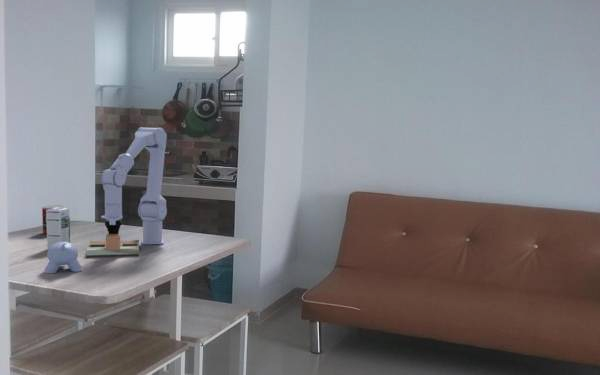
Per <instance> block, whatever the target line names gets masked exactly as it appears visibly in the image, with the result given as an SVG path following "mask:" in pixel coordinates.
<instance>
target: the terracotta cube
mask: <svg viewBox="0 0 600 375" xmlns="http://www.w3.org/2000/svg"><path fill="white" fill-rule="evenodd" d="M120 240H121V233H118V234H109V233H106V235H105V241H106V250H110V249H120Z"/></svg>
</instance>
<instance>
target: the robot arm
mask: <svg viewBox="0 0 600 375" xmlns="http://www.w3.org/2000/svg"><path fill="white" fill-rule="evenodd" d="M167 138H168V135H167V133H166V131H165V129H164V128H163V127H144V126H143V127H142V126H141V127H139V128H138V129H137V130H136V131H135V133H134V139H133V141H132V143H131V144H130V145H129V147H128V149H127V150H126V152H125V153H120V154H119V155H118V156H117V158H116V159H115V161H114V162H113V163H112V164H111V166H110V167H109V169H105V170H104V171H103V172H102V174H101V177H100V182H101V184H102V186H103V187H102V188H103V191H104V215H101V217H100V218H101V219H103V220H104V219H105V220H106V221H105V222H104V226H105V227H106V229H107V232H108V233H107V234H119V232H120V228H121V226H122V224H123V221H122V219H123V185H124V184H125V183H126V180H127V179H126V178H127V176H128V173H129V171H130V170H131V169H132V167H133V166H134V164H135V161H134V159H135V158H136V157H137V156H138V155H139V154H140V153H141V151H143V150H144V149H146V150H147V151H148V152H149V163H148V164H149V165H148V172H147V173H148V175H147V184H146V193H145V194H144V195H143V196H142V197H141V198H140V200H139V201H140V202H139V205H138V208H137V213H138V216H139V217H140V219H141V221H142V238H141V245H163V244H164V239H163V220H165V217H167V213H168V209H167V200H166V198H164V197H163V196H162V194H161V192H162V187H163V186H162V184H163V177H164V176H163V175H164V174H163V173H164V166H165V165H164V164H165V154H166V149H167Z"/></svg>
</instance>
